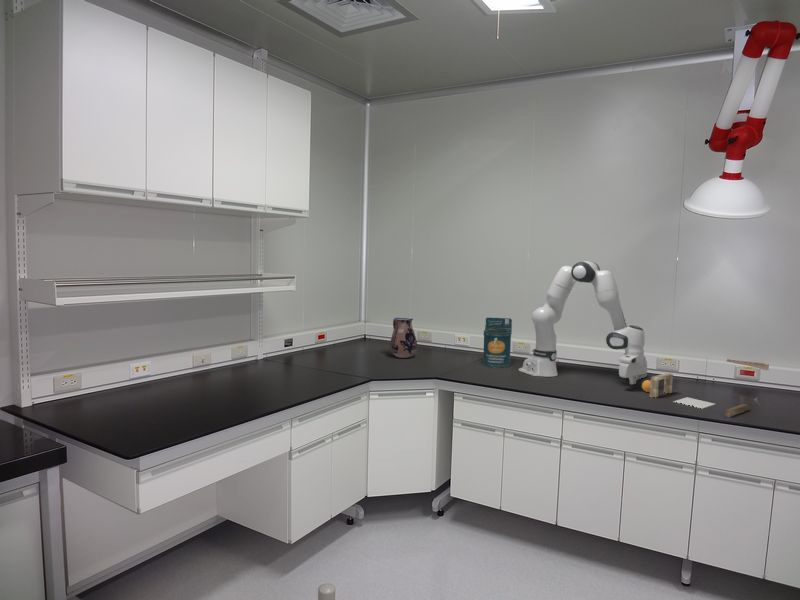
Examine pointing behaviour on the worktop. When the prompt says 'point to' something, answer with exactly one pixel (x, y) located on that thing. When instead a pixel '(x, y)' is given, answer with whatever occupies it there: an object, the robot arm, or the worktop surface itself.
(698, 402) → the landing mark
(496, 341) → the teal food package
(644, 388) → the ball
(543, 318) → the robot arm
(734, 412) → the stopper
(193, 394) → the worktop surface
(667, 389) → the bridge
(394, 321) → the ceramic pitcher
